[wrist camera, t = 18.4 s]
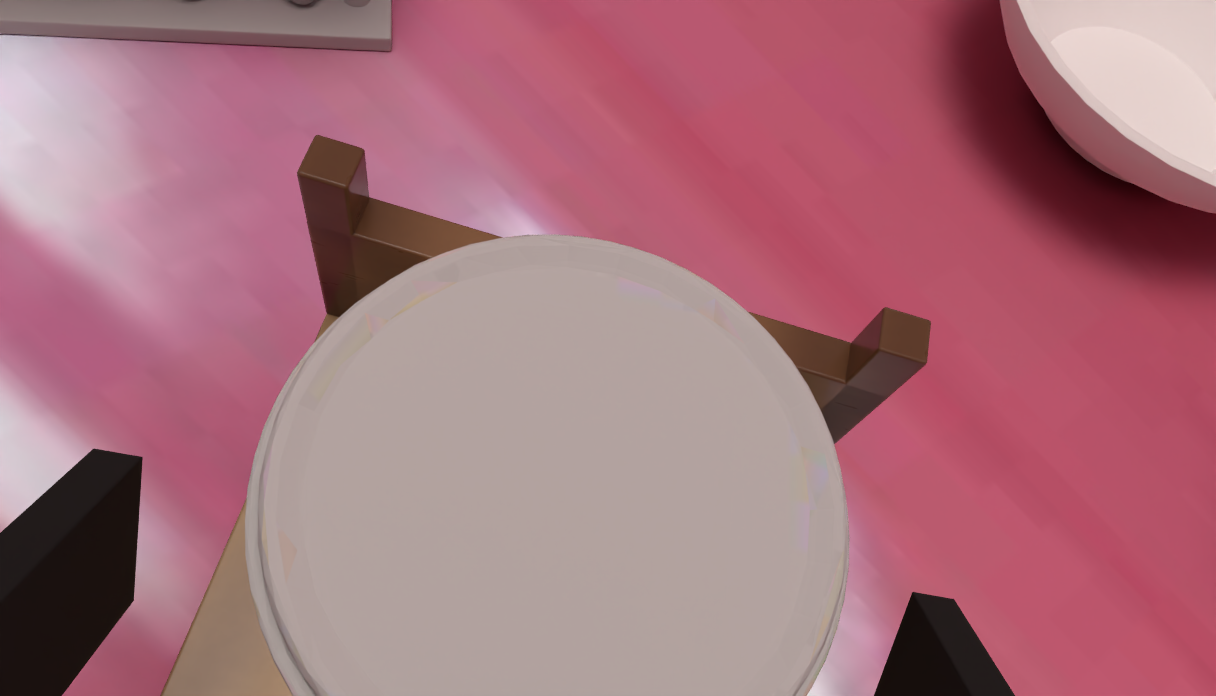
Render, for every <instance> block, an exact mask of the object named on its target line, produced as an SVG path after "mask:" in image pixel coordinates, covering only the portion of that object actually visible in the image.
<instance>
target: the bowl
mask: <svg viewBox="0 0 1216 696" xmlns="http://www.w3.org/2000/svg"><path fill="white" fill-rule="evenodd" d="M1000 6H1001V12H1002V18H1003V23H1004V28H1005V34H1006V39H1007V44H1008V46H1009V48H1010V51H1011V53H1012V56H1013V58H1014V60H1015V63H1016V65H1017V68H1018V70H1019V72H1020V74H1021V76H1022V77H1023V79H1024V81H1025V82H1026V84H1027V85H1028V87H1029V88H1030V90H1031V92H1032V93H1033V95H1034V96H1035V98H1036V99H1037V101H1038V102H1039V104H1040V105H1041V106H1042V107H1043V109H1044V110H1045V113H1046V115H1047V116H1048V118H1049V120H1050V121H1051V123H1052V124H1053V126H1054V127H1055V129H1056V131H1057V132H1058V133H1059V134H1060V135H1061V136H1062V137H1063V139H1064V140H1065V141H1066V142H1067V143H1068V144H1069V145H1070V146H1071V147H1072V148H1073V149H1074V150H1075V151H1076V152H1077V153H1079V154H1080V155H1081V156H1082V157H1083V158H1084V159H1086V160H1087V161H1089V162H1090V163H1092V164H1093V165H1095V166H1096V167H1098V168H1099V169H1101V170H1102V171H1104V172H1106V173H1108V174H1110V175H1112V176H1115V177H1117V178H1119V179H1121V180H1123V181H1126V182H1129V183H1133V184H1135V185H1137V186H1139V187H1141V188H1143V189H1145V190H1147V191H1150V192H1152V193H1154V194H1156V195H1158V196H1160V197H1162V198H1165V199H1167V200H1169V201H1172V202H1175V203H1178V204H1182V205H1185V206H1188V207H1192V208H1195V209H1198V210H1201V211H1205V212H1209V213H1216V0H1000Z"/></svg>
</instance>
